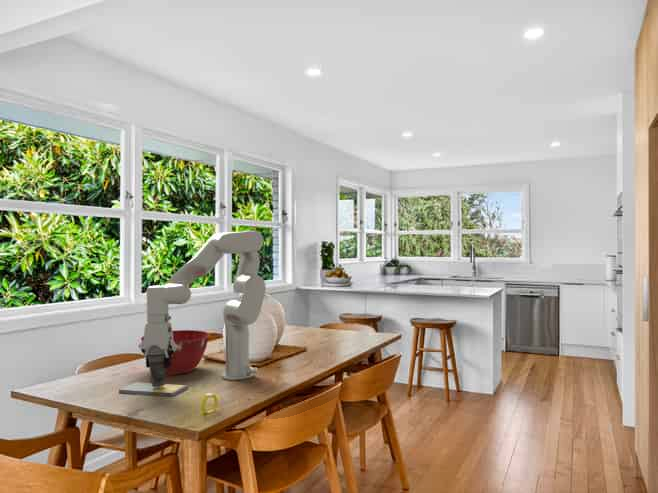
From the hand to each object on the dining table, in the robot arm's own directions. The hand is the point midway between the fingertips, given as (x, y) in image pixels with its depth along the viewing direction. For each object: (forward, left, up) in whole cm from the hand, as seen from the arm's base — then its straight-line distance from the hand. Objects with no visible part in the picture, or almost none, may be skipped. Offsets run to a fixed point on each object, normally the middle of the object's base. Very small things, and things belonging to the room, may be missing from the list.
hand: (158, 366), depth 183 cm
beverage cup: (0, 0, -7) cm, 7 cm away
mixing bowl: (+10, -29, -9) cm, 32 cm away
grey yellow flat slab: (+2, 0, -9) cm, 9 cm away
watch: (-30, +18, -9) cm, 36 cm away
